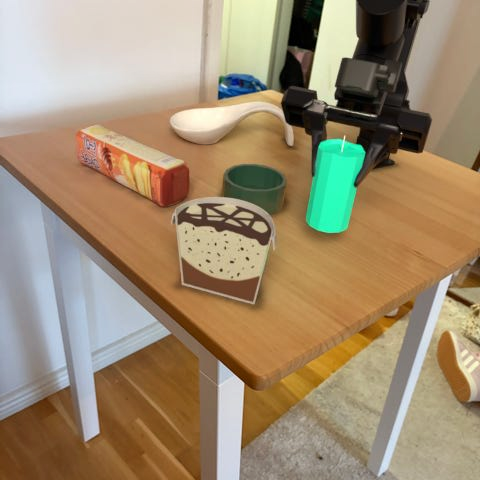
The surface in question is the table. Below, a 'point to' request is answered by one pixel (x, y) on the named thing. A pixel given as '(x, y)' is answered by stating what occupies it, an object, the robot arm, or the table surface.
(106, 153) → the snack package
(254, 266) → the food container
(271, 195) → the bowl
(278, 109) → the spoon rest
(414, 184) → the table surface
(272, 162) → the table surface
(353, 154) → the candle
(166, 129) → the table surface
